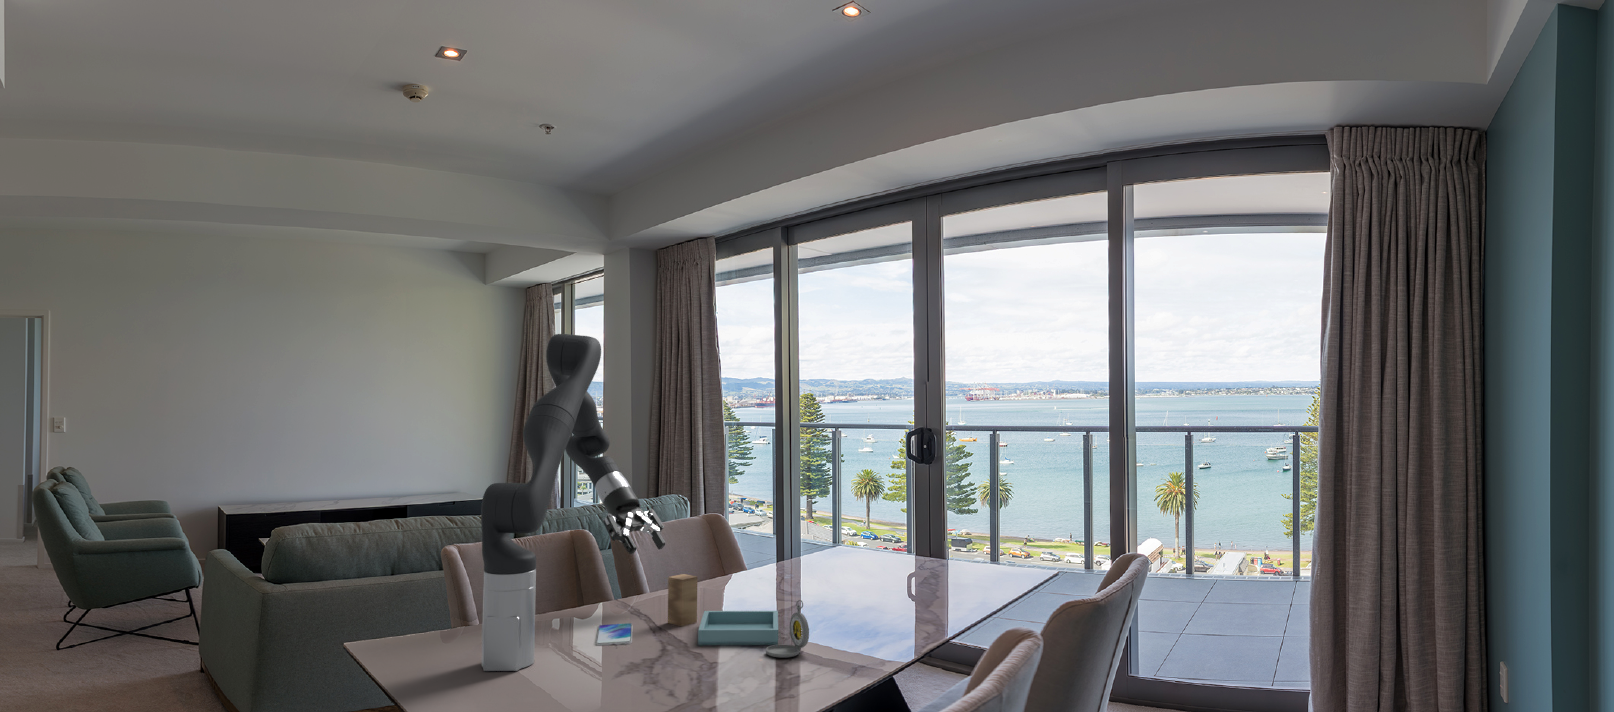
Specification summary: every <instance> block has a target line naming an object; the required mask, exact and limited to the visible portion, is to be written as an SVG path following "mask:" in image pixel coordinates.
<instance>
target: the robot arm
mask: <svg viewBox="0 0 1614 712" xmlns="http://www.w3.org/2000/svg"><path fill="white" fill-rule="evenodd" d="M545 355H546V356H545V357H546V358H545V360H546V366H547V369H548V371H549V374H550V376H551V378H552V380H553V382H554V386H555V387H554V388H553V389H551V390H549V391H548V392H546V393H545V394H544V395H542V396H541V397H540V398H538V400H536V402H535V403H534V404H533V406H532V407H531V409H530V412H529V414H528V416H527V419H526V421H525V424H524V426H523V429H522V439H523V442H524V446H525V448H526V451H527V453H528V456H529V458H530V460H531V463H532V467H533V471H532V474H531V478H530V479H529V481H528V482H522V483H521V482H494V483H492V484H490V485H488V487H487V488H486V489H485V491H484V493H483V496H482V501H481V510H480V516H481V517H480V518H481V519H480V520H481V521H480V523H481V554H482V560H483V591H482V592H483V593H482V596H483V597H482V624H481V625H482V628H481V634H482V635H481V667H482V668H483V670H482V671H483V672H496V671H497V672H500V671H501V672H502V671H503V672H509V671H510V672H511V671H513V672H514V671H515V672H517V671H519V670H520V669H523V668H527V667H530V666H531V665H533V663H534V662H535V634H536V633H535V632H536V630H535V629H536V628H535V627H536V625H535V623H536V591H537V589H536V587H537V586H536V583H537V581H536V579H537V557H536V556H537V555H536V553H534V552H533V551H532V550H529V549H527V548H524V547H523V546H520V545H519V544H517V543H516V542H515V541H514V540H513V539H512V538H511V535H510V534H532V533H535V532H537V531H538V530H540V528H541V526H542V525H543V523H544V521H545V518H546V516H547V513H548V508H549V504H550V502H551V497H552V492H553V490H554V489H553V488H554V485H555V481H556V478H557V474H558V470H559V468H560V464H561V462H562V460H563V456H564V453H566V454H567V456H568V458H570V460H571V461H572V462H573V463H574V465H577V467H579V468H580V469H581V470H582V471H583V472H584V473H585V474H586V475H587V477H588V478H589V479H590V481H591V483H592V484H593V485H592V486H593V487H594V488H595V490H596V493H597V496H598V498H599V499H600V501H601V504H603V507H604V508H605V510H606V511H607V512H606V513H608V514H607V515H606V516H605V518H604V520H603V521H602V523H603V525H604V527H605V530H606V531H607V533H608V535H609V537H610V540H611V541H613V542H615V541H618V542H620V543H621V544H622V545H623V547H624V549H625V551H626V552H627V553H628V554H629V555H633V554H634V553H636V551H637V545H636V544H635V542H634V540H633V539H632V537H631V535H630V534H629V533H631V532H639V531H640V532H641V533H642V534H647V535H649V536H650V537H651V539H652V541H653V543H654V545H655V547H656V548H657V549H658V550H663V549H664V547H665V545H666V540H665V539H664V537H663V536H662V534H661V532H662V531H663V529H664V528H665V524H663V522H662V520H661V519H660V517H659V516H658V514H657V513H656V511H655V510H654V509H653V508H649V509H648V511H644V510H643V509H642V508H641V505H640V500H639V498H638V496H637V495H636V493H635V492H634V490H633V488H632V487H631V485H630V483H629V481H628V479H626V477H625V476H624V474H623V473H622V471H621V470H620V468H619V467H618V465H617V463H616V461H615V460H614V459H613V458H612V457H611V456H608V455H604V456H600V455H603V454H605V453H606V452H607V451H608V450H609V448H610V437H609V436H608V434H607V432H606V431H605V429H604V428H603V427H602V426H601V423H600V421H599V416H598V409H597V405H596V403H595V400H594V398H593V397H592V396H591V394H590V393H589V392H588V389H589V387H590V385H591V384H592V381H593V379H594V378H595V375H596V373H597V370H598V368H599V364H600V361H601V358H602V346H601V343H600V341H599V339H597V338H595V337H593V336H588V335H580V334H579V335H578V334H571V333H570V334H569V333H556V334H553V335H552V336H551V337H550V339H549V340H548V343H547V346H546V353H545ZM645 524H646V525H645Z"/></svg>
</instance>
